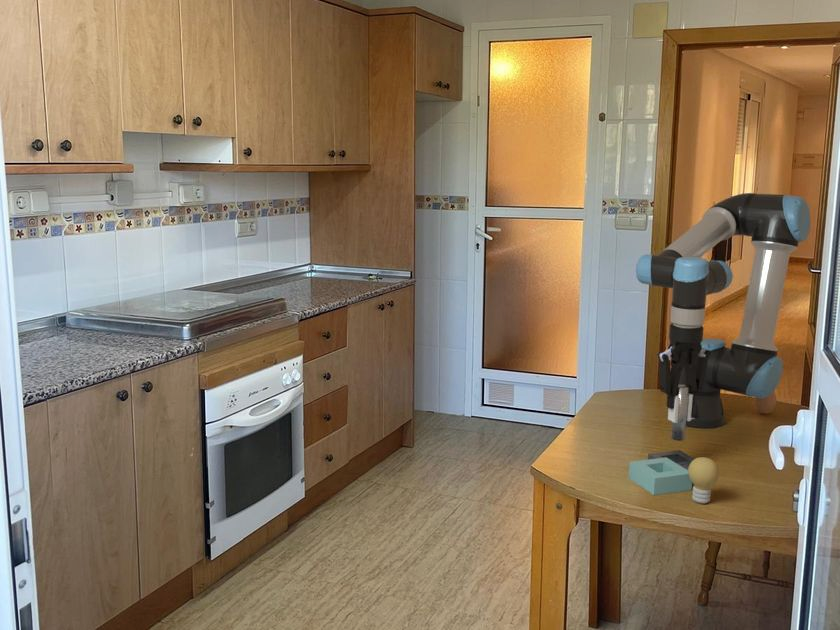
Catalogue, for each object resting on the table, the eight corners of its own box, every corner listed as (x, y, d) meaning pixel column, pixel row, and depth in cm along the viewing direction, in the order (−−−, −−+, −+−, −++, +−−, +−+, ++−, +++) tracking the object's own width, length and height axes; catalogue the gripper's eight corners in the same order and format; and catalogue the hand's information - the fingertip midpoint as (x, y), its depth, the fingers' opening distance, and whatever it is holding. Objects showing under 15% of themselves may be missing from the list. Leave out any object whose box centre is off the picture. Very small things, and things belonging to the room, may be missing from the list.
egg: (768, 410, 247) (771, 383, 245) (778, 416, 242) (782, 388, 240) (749, 410, 246) (752, 383, 245) (760, 417, 241) (763, 389, 239)
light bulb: (684, 504, 182) (688, 461, 180) (686, 493, 187) (690, 451, 185) (715, 509, 179) (719, 465, 177) (716, 498, 185) (720, 455, 183)
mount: (678, 459, 207) (679, 450, 207) (701, 473, 199) (702, 463, 199) (647, 463, 204) (648, 453, 204) (669, 477, 196) (670, 467, 196)
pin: (679, 435, 202) (683, 383, 200) (687, 439, 200) (691, 387, 197) (668, 436, 201) (672, 385, 199) (676, 441, 199) (680, 389, 196)
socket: (665, 473, 199) (666, 457, 198) (691, 489, 189) (692, 473, 189) (628, 478, 195) (629, 461, 195) (653, 495, 186) (654, 478, 185)
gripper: (705, 318, 200) (697, 411, 206) (647, 323, 195) (641, 418, 200) (726, 325, 193) (717, 421, 199) (666, 330, 188) (659, 429, 193)
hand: (679, 419), depth 199 cm, fingers closed on pin, 3 cm apart
